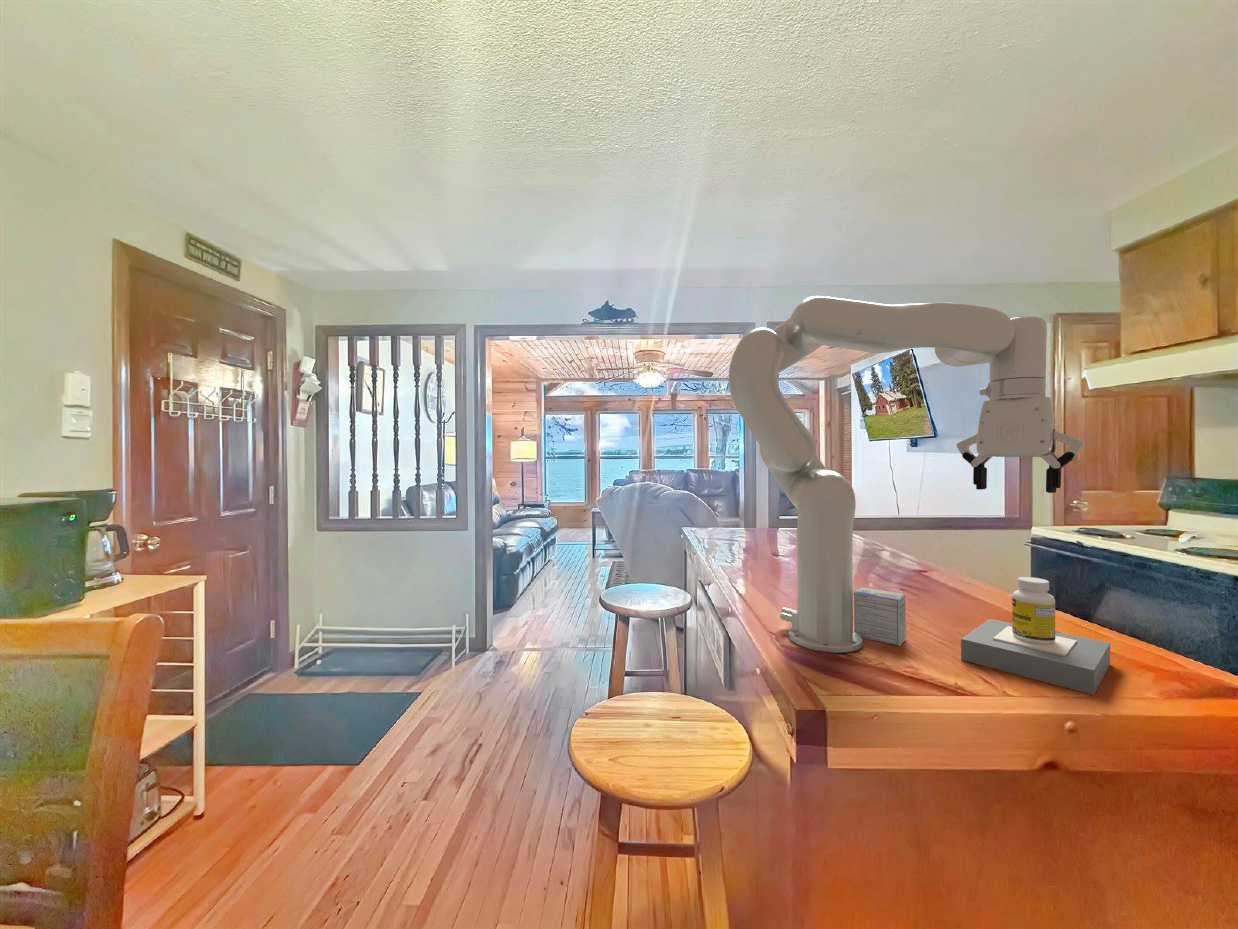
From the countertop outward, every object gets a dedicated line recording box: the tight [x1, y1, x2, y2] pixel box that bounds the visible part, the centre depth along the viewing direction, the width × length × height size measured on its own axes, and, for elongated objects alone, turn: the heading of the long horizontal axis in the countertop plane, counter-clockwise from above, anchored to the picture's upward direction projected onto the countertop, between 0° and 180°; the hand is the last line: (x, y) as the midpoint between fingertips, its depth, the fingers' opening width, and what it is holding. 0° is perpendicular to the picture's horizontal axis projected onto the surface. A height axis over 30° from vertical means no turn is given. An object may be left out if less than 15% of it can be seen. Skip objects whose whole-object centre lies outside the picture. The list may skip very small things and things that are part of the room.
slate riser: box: [960, 618, 1111, 696], centre depth 80 cm, size 16×16×4 cm
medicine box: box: [853, 587, 907, 647], centre depth 91 cm, size 8×4×9 cm, turn 47°
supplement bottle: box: [1011, 576, 1056, 644], centre depth 80 cm, size 5×5×10 cm
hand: (1014, 490), depth 84 cm, fingers open, 9 cm apart
